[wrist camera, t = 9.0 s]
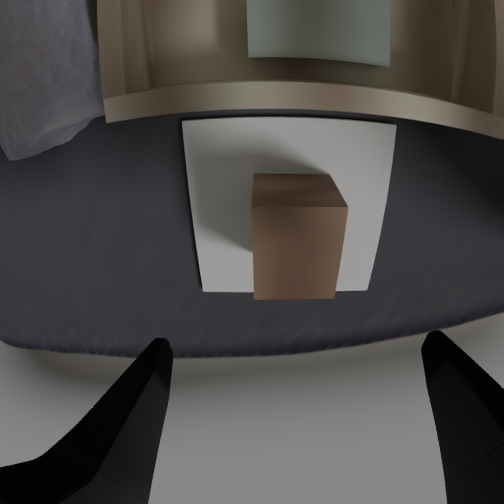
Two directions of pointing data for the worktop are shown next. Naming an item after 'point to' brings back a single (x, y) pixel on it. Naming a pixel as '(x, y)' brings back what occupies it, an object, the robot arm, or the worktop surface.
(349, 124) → the grey mat
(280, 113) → the worktop surface
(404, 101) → the slot box
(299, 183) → the walnut block
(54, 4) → the stone block
